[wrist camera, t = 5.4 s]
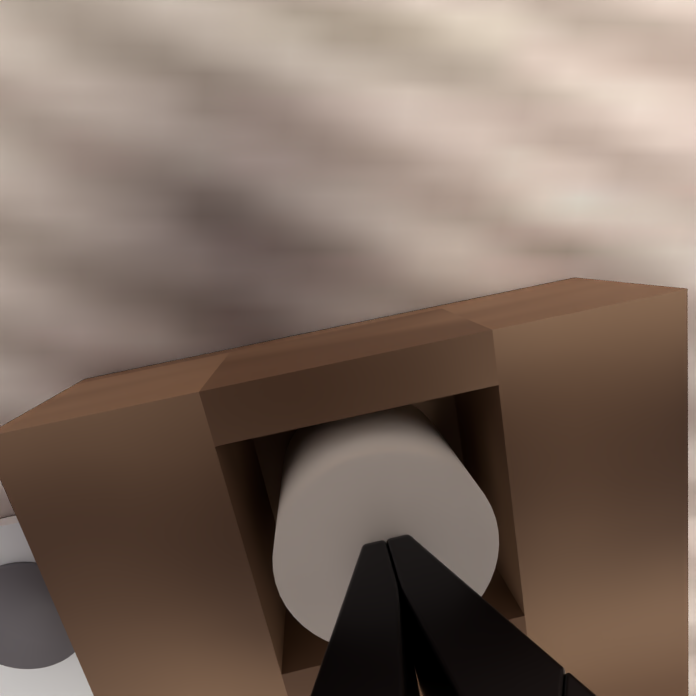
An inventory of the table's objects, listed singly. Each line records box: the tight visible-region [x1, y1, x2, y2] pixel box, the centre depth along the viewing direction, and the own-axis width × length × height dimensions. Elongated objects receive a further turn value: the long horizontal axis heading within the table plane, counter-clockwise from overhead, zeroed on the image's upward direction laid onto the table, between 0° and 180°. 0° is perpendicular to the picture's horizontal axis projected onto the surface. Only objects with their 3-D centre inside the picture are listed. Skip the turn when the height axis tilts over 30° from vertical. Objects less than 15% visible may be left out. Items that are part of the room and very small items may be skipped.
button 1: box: [272, 404, 499, 642], centre depth 9 cm, size 4×4×3 cm
